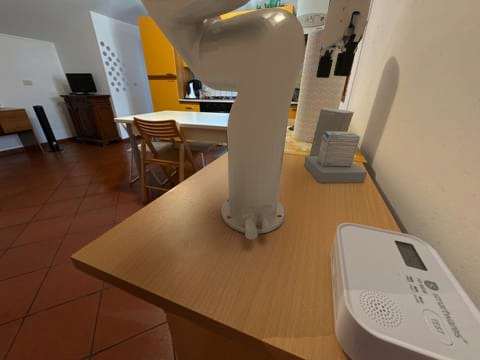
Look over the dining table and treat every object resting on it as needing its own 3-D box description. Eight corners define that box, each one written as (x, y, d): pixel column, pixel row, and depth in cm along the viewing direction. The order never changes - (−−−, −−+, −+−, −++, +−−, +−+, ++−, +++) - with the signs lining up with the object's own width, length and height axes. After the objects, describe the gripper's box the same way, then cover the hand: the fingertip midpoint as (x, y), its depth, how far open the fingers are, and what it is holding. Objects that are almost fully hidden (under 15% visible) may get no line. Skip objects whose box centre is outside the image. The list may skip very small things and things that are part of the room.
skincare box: (309, 155, 69) (317, 108, 62) (319, 151, 73) (329, 106, 66) (331, 162, 63) (344, 111, 56) (341, 157, 68) (354, 109, 60)
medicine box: (344, 161, 56) (353, 131, 52) (351, 167, 52) (361, 135, 48) (317, 160, 57) (323, 130, 53) (321, 166, 53) (329, 135, 49)
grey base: (363, 182, 51) (367, 172, 50) (319, 183, 51) (321, 172, 49) (340, 164, 62) (343, 155, 60) (303, 164, 61) (305, 156, 60)
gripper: (407, -51, 29) (369, 76, 37) (348, -4, 45) (330, 78, 52) (359, -55, 29) (331, 74, 37) (316, -6, 45) (303, 77, 52)
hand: (330, 76), depth 45 cm, fingers open, 9 cm apart
